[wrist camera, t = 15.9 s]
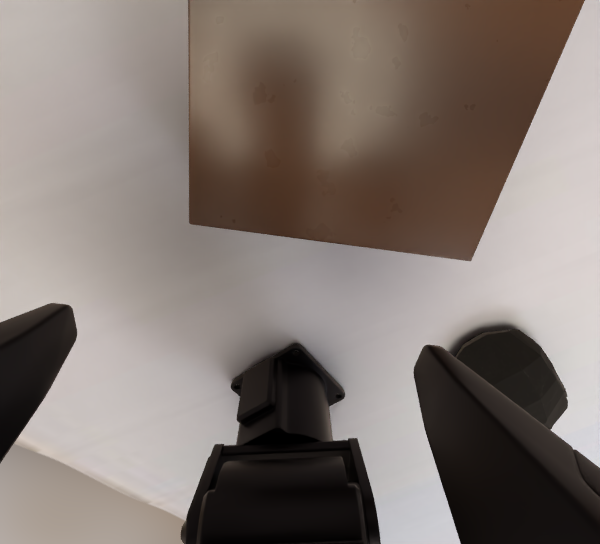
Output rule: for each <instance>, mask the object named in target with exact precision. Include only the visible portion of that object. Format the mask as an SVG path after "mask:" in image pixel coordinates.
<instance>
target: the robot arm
mask: <svg viewBox="0 0 600 544" xmlns="http://www.w3.org/2000/svg"><path fill="white" fill-rule="evenodd" d="M76 338H77V328H76V323H75V318H74V313H73V309H72V308H71V306H69V305H66V304H57V303H50V304H47V305H45V306H42V307H40V308H37V309H34V310H32V311H29V312H27V313H24V314H21V315H19V316H16V317H14V318H11V319H8V320H6V321H3V322H1V323H0V463H1V461H2V460H3V458H4V457H5V455H6V454H7V453H8V451H9V450H10V448H11V446H12V445H13V444H14V442H15V441H16V439H17V438H18V436H19V435H20V433H21V432H22V431H23V429H24V428H25V426H26V425H27V423H28V422H29V420H30V419H31V417H32V416H33V414H34V413H35V411H36V410H37V408H38V407H39V405H40V404H41V402H42V401H43V399H44V398H45V396H46V394H47V393H48V391H49V389H50V388H51V386H52V384H53V382H54V380H55V378H56V376H57V374H58V373H59V371H60V369H61V367H62V365H63V363H64V361H65V360H66V358H67V356H68V354H69V352H70V350H71V348H72V347H73V345H74V343H75V341H76ZM295 350H298V352H294V351H295ZM414 379H415V383H416V388H417V393H418V398H419V403H420V408H421V413H422V418H423V422H424V427H425V431H426V434H427V438H428V441H429V444H430V447H431V450H432V453H433V457H434V460H435V463H436V466H437V469H438V473H439V476H440V479H441V482H442V485H443V488H444V492H445V495H446V498H447V501H448V504H449V507H450V511H451V514H452V517H453V520H454V523H455V526H456V530H457V533H458V536H459V539H460V542H461V544H600V468H599V467H598V466H596V465H595V464H594V463H592V462H591V461H590V460H589V459H587V458H586V457H585V456H583V455H582V454H581V453H579V452H578V451H577V450H573V448H572V447H571V446H570V445H569V444H568V443H566V442H565V441H564V440H562V439H561V438H560V437H558V436H557V435H556V434H555V433H553V432H552V431H551V430H549V429H548V428H547V427H545V426H544V425H543V424H542V423H540V422H539V421H538V420H536V419H535V418H534V417H532V416H531V415H530V414H528V413H527V412H526V411H525V410H523V409H522V408H521V407H519V406H518V405H517V404H515V403H514V402H513V401H512V400H510V399H509V398H508V397H506V396H505V395H504V394H502V393H501V392H500V391H498V390H497V389H496V388H495V387H493V386H492V385H491V384H489V383H488V382H487V381H485V380H484V379H483V378H482V377H480V376H479V375H478V374H476V373H475V372H474V371H472V370H471V369H470V368H468V367H467V366H466V365H465V364H463V363H462V362H461V361H459V360H458V359H457V358H455V357H454V356H453V355H452V354H450V353H449V352H448V351H446V350H445V349H444V348H442V347H440V346H434V345H425V346H424V347H423V349H422V351H421V353H420V355H419V358H418V360H417V362H416V365H415V367H414ZM231 389H232V390H233V391H234V392H236V393H237V394H238V395H239V396H240V401H239V407H238V413H237V421H238V422H239V423H240V424H239V431H238V437H237V443H236V445H229V446H224V444H216V445H214V448H213V450H212V453H211V456H210V457H209V458H208V460H207V463H206V466H205V468H204V471H203V474H202V476H201V479H200V482H199V484H198V487H197V490H196V492H195V495H194V498H193V500H192V503H191V506H190V508H189V511H188V514H187V519H186V521H185V523H184V524H183V526H182V530H181V540H182V542H183V543H184V544H381V543H380V533H379V526H378V519H377V512H376V507H375V502H374V497H373V493H372V489H371V486H370V482H369V479H368V475H367V472H366V468H365V464H364V461H363V457H362V454H361V450H360V447H359V443H358V440H357V438H350V439H348V440H341V441H333V437H332V429H331V421H330V412H329V406H331V405H333V404H335V403H337V402H339V401H341V400H342V399H344V397H345V393H344V390H343V389H342V387H341V386H340V385H339V384H338V383H337V382H336V381H335V380H334V379H333V378H332V377H331V376H330V375H329V374H328V373H327V372H326V371H325V370H324V369H323V368H322V367H321V366H320V365H319V363H318V362H317V361H316V360H315V359H314V358H313V357H312V356H311V355H310V354H309V353H308V352H307V351H306V350H305V349H304V348H303V347H302V346H301V345H300V344H293V345H291V346H289V347H287V348H286V349H284V350H282V351H281V352H279V353H277V354H276V355H274V356H272V357H269V358H267V359H266V360H264V361H262V362H261V363H259V364H257V365H256V366H254V367H252V368H251V369H249V370H247V371H246V372H245V373H244V374H242V375H240V376H239V377H237V378H235V379H234V380H232V383H231Z"/></svg>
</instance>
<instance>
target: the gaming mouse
mask: <svg viewBox="0 0 600 544" xmlns="http://www.w3.org/2000/svg"><path fill="white" fill-rule="evenodd" d="M455 358H457V359H458V360H459V361H461V362H462V363H463V364H465V365H466V366H467V367H468V368H470V369H471V370H472V371H474V372H475V373H476V374H478V375H479V376H480V377H482V378H483V379H484V380H485V381H487V382H488V383H489V384H491V385H492V386H493V387H495V388H496V389H497V390H498V391H500V392H501V393H502V394H504V395H505V396H506V397H508V398H509V399H510V400H512V401H513V402H514V403H515V404H517V405H518V406H519V407H521V408H522V409H523V410H525V411H526V412H527V413H528V414H530V415H531V416H532V417H534V418H535V419H536V420H538V421H539V422H540V423H542V424H543V425H544V426H545V427H547V428H548V429H549V430H550V429H552V426H553V425H554V424H555V422H556V421H557V420H558V419H559V418H560V416H561V415H562V414H563V413H564V411H565V410H566V409H567V406H568V401H567V398H566V397H567V393H566V391H565V390H566V389H565V388H564V386H563V384H562V382H561V380H560V379H559V377H558V375H557V373H556V371H555V369H554V367H553V365H552V363H551V361H550V360H549V359H548V357H547V356H546V354H545V353H544V351H543V350H542V348H541V347H540V346H539V345H538V344H537V343H536V342H535V341H534V340H532V339H531V338H530V337H528V336H527V335H525V334H524V333H522V332H521V331H520V330H515V329H511V330H503V331H494V332H486V333H482V334H480V335H479V336H477V337H475V338H473V339H472V340H470V341H468V342H466V343H465V344H463V346H462V347H461V349H460V350H459V352H458V353H457V355H456V356H455Z"/></svg>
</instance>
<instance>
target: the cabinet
mask: <svg viewBox="0 0 600 544" xmlns="http://www.w3.org/2000/svg"><path fill="white" fill-rule="evenodd" d="M584 1H585V0H188V32H189V223H190V224H193V225H201V226H208V227H216V228H224V229H231V230H239V231H246V232H254V233H261V234H269V235H276V236H284V237H291V238H299V239H307V240H314V241H322V242H329V243H337V244H344V245H352V246H359V247H367V248H375V249H382V250H390V251H397V252H405V253H412V254H420V255H427V256H435V257H442V258H450V259H458V260H465V261H471V260H472V257H473V255H474V253H475V250H476V248H477V246H478V244H479V241H480V239H481V237H482V234H483V232H484V230H485V228H486V225H487V223H488V221H489V218H490V216H491V214H492V212H493V209H494V207H495V205H496V202H497V200H498V198H499V195H500V193H501V191H502V189H503V186H504V184H505V182H506V179H507V177H508V175H509V173H510V170H511V168H512V166H513V163H514V161H515V159H516V157H517V154H518V152H519V150H520V147H521V145H522V143H523V141H524V138H525V136H526V134H527V131H528V129H529V127H530V125H531V122H532V120H533V118H534V115H535V113H536V111H537V108H538V106H539V104H540V102H541V99H542V97H543V95H544V92H545V90H546V88H547V86H548V83H549V81H550V79H551V76H552V74H553V72H554V70H555V67H556V65H557V63H558V60H559V58H560V56H561V54H562V51H563V49H564V47H565V44H566V42H567V40H568V38H569V35H570V33H571V31H572V28H573V26H574V24H575V22H576V19H577V17H578V15H579V12H580V10H581V8H582V5H583V3H584Z"/></svg>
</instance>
